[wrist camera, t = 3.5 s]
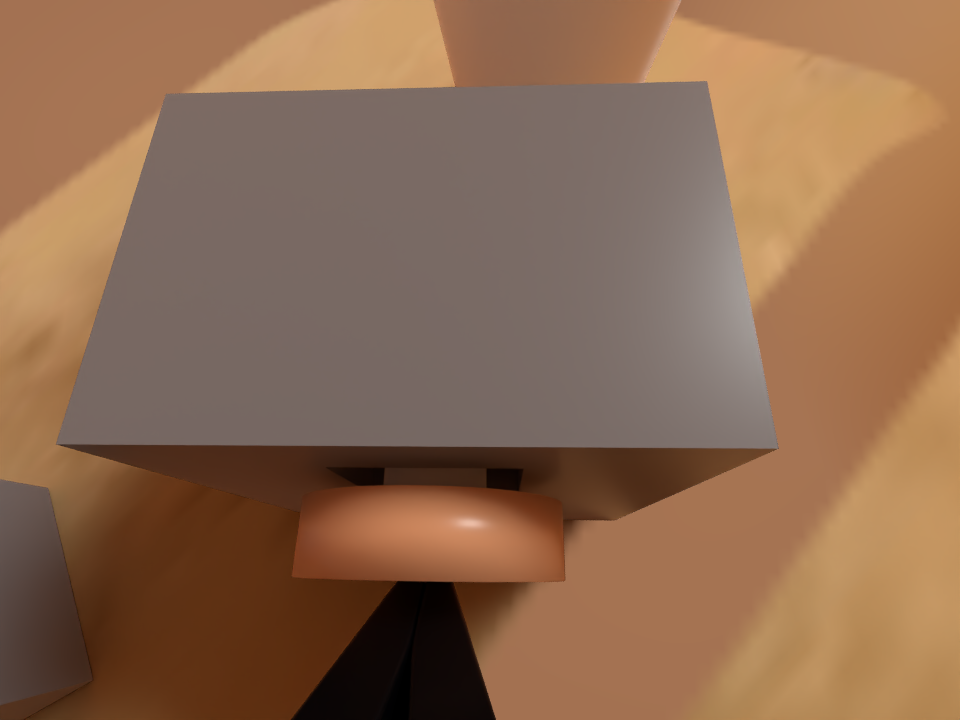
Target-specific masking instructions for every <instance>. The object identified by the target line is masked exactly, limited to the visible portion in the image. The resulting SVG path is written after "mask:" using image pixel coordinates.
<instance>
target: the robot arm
mask: <svg viewBox="0 0 960 720" xmlns="http://www.w3.org/2000/svg"><path fill="white" fill-rule="evenodd" d="M291 720H496V718H495V715H494V712H493V709H492V705H491V702H490V699H489V696H488V693H487V689H486V686H485V683H484V680H483V677H482V673H481V670H480V667H479V664H478V661H477V657H476V654H475V651H474V648H473V645H472V641H471V638H470V635H469V632H468V629H467V625H466V622H465V619H464V616H463V613H462V609H461V606H460V603H459V600H458V597H457V593H456V590H455V587H454V584H453V582H435V581H397V582H396V584H395V585H394V586H393V588H392V589H391V590H390V592H389V593H388V594H387V595H386V597H385V598H384V599H383V601H382V602H381V603H380V605H379V606H378V607H377V608H376V610H375V611H374V612H373V614H372V615H371V616H370V618H369V619H368V620H367V621H366V623H365V624H364V625H363V627H362V628H361V629H360V631H359V632H358V633H357V634H356V636H355V637H354V638H353V640H352V641H351V642H350V644H349V645H348V646H347V647H346V649H345V650H344V651H343V653H342V654H341V655H340V657H339V658H338V659H337V661H336V662H335V663H334V664H333V666H332V667H331V668H330V670H329V671H328V672H327V674H326V675H325V676H324V677H323V679H322V680H321V681H320V683H319V684H318V685H317V687H316V688H315V689H314V690H313V692H312V693H311V694H310V696H309V697H308V698H307V700H306V701H305V702H304V703H303V705H302V706H301V707H300V709H299V710H298V711H297V713H296V714H295V715H294V716H293V718H292V719H291Z"/></svg>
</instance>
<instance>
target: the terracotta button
mask: <svg viewBox="0 0 960 720" xmlns="http://www.w3.org/2000/svg"><path fill="white" fill-rule="evenodd" d="M486 469H487V468H385V472H384V485H374V486H354V487H340V488H331V489H324V490H318V491H313V492H309V493H307V494H305V495H303V496H302V504H301V511H300V518H299V526H298V533H297V541H296V548H295V555H294V563H293V570H292V577H295V578H311V579H339V580H378V581H435V582H560V581H565V559H564V535H563V511H562V502H561V501H559V500H557V499H555V498H552V497H548V496H544V495H539V494H533V493H527V492H520V491H512V490H502V489H491V488H486Z"/></svg>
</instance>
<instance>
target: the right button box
mask: <svg viewBox="0 0 960 720" xmlns="http://www.w3.org/2000/svg"><path fill="white" fill-rule="evenodd" d="M56 444H57V445H60V446H64V447H68V448H71V449H75V450H78V451H82V452H85V453H89V454H93V455H96V456H100V457H103V458H107V459H110V460H114V461H118V462H121V463H125V464H128V465H132V466H135V467H139V468H143V469H146V470H150V471H153V472H157V473H160V474H164V475H168V476H171V477H175V478H178V479H182V480H185V481H189V482H193V483H196V484H200V485H203V486H207V487H210V488H214V489H218V490H221V491H225V492H228V493H232V494H235V495H239V496H243V497H246V498H250V499H253V500H257V501H260V502H264V503H268V504H271V505H275V506H278V507H282V508H285V509H289V510H293V511H296V512H300V511H301V504H302V496H303V495H305V494H307V493H309V492H313V491H318V490H324V489H331V488H340V487H354V486H374V485H384V472H385V468H487V469H486V488H491V489H502V490H512V491H520V492H527V493H533V494H539V495H544V496H548V497H552V498H555V499H557V500H559V501H561V502H562V511H563V520H617V519H619V518H621V517H623V516H626V515H628V514H630V513H633V512H635V511H637V510H640V509H642V508H644V507H646V506H648V505H651V504H653V503H655V502H658V501H660V500H662V499H665V498H667V497H669V496H672V495H674V494H676V493H678V492H681V491H683V490H685V489H687V488H690V487H692V486H694V485H697V484H699V483H701V482H704V481H706V480H708V479H710V478H713V477H715V476H717V475H719V474H721V473H724V472H726V471H728V470H731V469H733V468H735V467H738V466H740V465H742V464H745V463H747V462H749V461H751V460H754V459H756V458H758V457H761V456H763V455H765V454H767V453H770V452H772V451H774V450H777V449H778V443H777V438H776V433H775V428H774V422H773V418H772V412H771V407H770V402H769V397H768V392H767V387H766V381H765V376H764V371H763V366H762V361H761V356H760V351H759V346H758V340H757V335H756V330H755V325H754V320H753V315H752V310H751V304H750V299H749V294H748V289H747V284H746V279H745V274H744V269H743V263H742V258H741V253H740V248H739V243H738V238H737V233H736V228H735V222H734V217H733V212H732V207H731V202H730V197H729V192H728V186H727V181H726V176H725V171H724V166H723V161H722V156H721V151H720V145H719V140H718V135H717V130H716V125H715V120H714V115H713V110H712V104H711V99H710V94H709V89H708V84H707V81H700V82H657V83H614V84H571V85H528V86H485V87H442V88H399V89H356V90H313V91H270V92H227V93H184V94H166V96H165V99H164V102H163V105H162V108H161V111H160V115H159V118H158V121H157V124H156V127H155V131H154V134H153V137H152V140H151V143H150V147H149V150H148V153H147V156H146V159H145V162H144V166H143V169H142V172H141V175H140V178H139V182H138V185H137V188H136V191H135V194H134V197H133V201H132V204H131V207H130V210H129V213H128V217H127V220H126V223H125V226H124V229H123V232H122V236H121V239H120V242H119V245H118V248H117V252H116V255H115V258H114V261H113V264H112V268H111V271H110V274H109V277H108V280H107V283H106V287H105V290H104V293H103V296H102V299H101V303H100V306H99V309H98V312H97V315H96V318H95V322H94V325H93V328H92V331H91V334H90V338H89V341H88V344H87V347H86V350H85V353H84V357H83V360H82V363H81V366H80V369H79V373H78V376H77V379H76V382H75V385H74V388H73V392H72V395H71V398H70V401H69V404H68V408H67V411H66V414H65V417H64V420H63V424H62V427H61V430H60V433H59V436H58V439H57V443H56Z"/></svg>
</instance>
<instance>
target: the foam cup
mask: <svg viewBox="0 0 960 720" xmlns="http://www.w3.org/2000/svg"><path fill="white" fill-rule="evenodd" d="M680 2H681V0H434V4H435V8H436V12H437V16H438V20H439V24H440V28H441V32H442V36H443V40H444V44H445V48H446V52H447V56H448V60H449V64H450V67H451V71H452V75H453V79H454V83H455V87H485V86H528V85H571V84H614V83H644V82H645V79H646V77H647V75H648V73H649V70H650V68H651V66H652V64H653V62H654V59H655V57H656V55H657V53H658V51H659V48H660V46H661V44H662V42H663V40H664V37H665V35H666V33H667V31H668V28H669V26H670V24H671V22H672V20H673V17H674V15H675V13H676V11H677V9H678V6H679V4H680Z"/></svg>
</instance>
